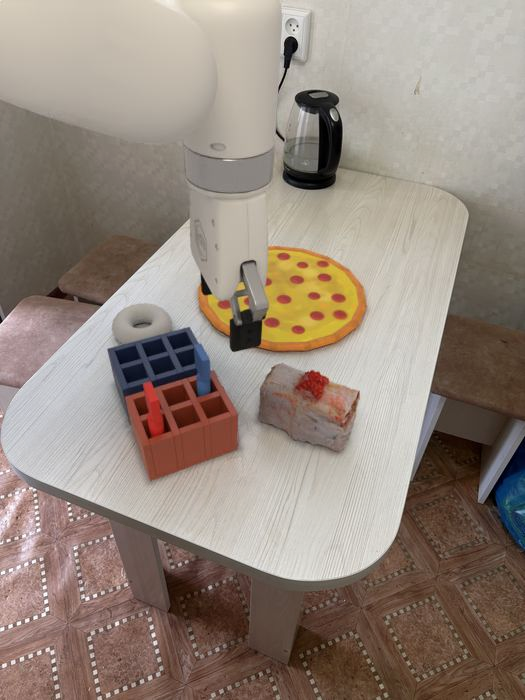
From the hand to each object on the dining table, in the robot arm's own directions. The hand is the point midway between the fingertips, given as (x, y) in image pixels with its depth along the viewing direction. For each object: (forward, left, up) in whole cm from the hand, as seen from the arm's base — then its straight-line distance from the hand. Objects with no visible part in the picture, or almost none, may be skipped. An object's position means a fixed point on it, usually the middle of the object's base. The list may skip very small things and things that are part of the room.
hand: (229, 318), depth 54 cm
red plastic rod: (-9, +2, -23) cm, 25 cm away
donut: (-4, +28, -24) cm, 37 cm away
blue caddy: (-5, +14, -24) cm, 28 cm away
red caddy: (-5, +4, -24) cm, 25 cm away
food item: (+12, -1, -24) cm, 27 cm away
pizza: (+23, +28, -24) cm, 43 cm away
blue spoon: (-1, +6, -23) cm, 24 cm away
